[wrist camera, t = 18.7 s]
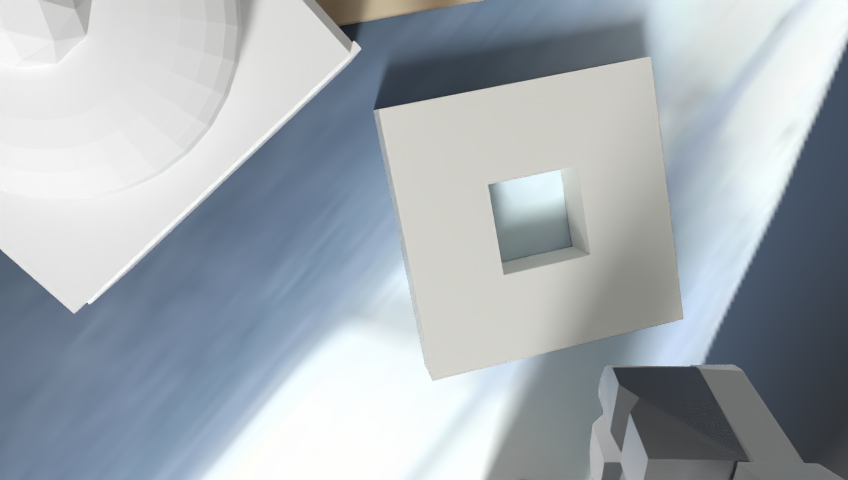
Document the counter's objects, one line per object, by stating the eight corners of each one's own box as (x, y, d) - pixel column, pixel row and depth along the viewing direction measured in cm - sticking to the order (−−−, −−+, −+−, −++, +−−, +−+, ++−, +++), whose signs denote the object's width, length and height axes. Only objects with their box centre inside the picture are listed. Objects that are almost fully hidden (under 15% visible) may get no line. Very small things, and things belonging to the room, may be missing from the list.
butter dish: (350, 62, 41) (378, 28, 26) (124, 275, 41) (16, 368, 26) (118, -195, 37) (-13, -417, 22) (-133, 40, 37) (-444, -15, 22)
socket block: (424, 363, 45) (432, 380, 42) (373, 110, 42) (378, 109, 39) (659, 306, 47) (683, 318, 44) (627, 60, 44) (650, 56, 41)
